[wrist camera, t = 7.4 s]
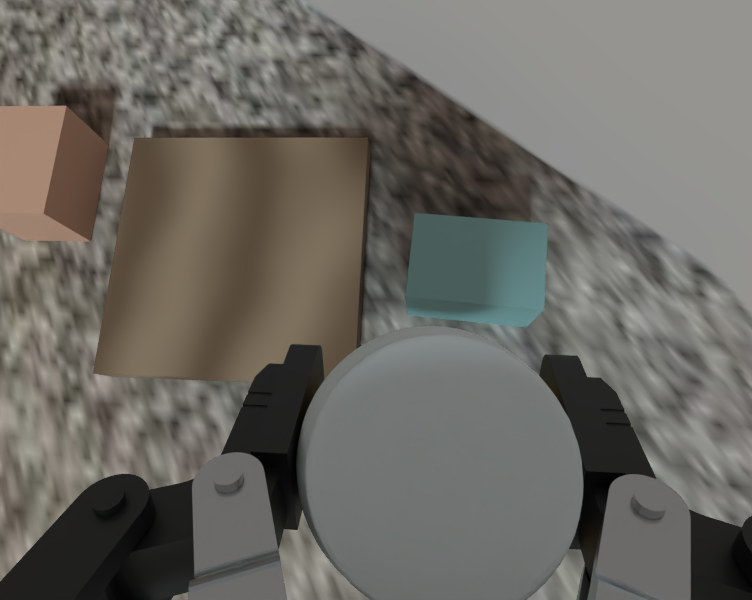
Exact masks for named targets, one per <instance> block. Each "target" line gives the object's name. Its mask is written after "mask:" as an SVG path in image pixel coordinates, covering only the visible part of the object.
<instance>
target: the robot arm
mask: <svg viewBox="0 0 752 600" xmlns="http://www.w3.org/2000/svg"><path fill="white" fill-rule="evenodd" d="M539 376H540V377H541V378H542V380H543V381H544V382H545V383H546V384H547V386H548V387H549V388H550V390H551V391H552V392H553V393H554V395H555V396H556V398H557V399H558V401H559V402H560V404H561V406H562V408H563V409H564V411H565V413H566V414H567V416H568V418H569V419H570V422H571V425H572V428H573V431H574V434H575V437H576V439H577V442H578V446H579V450H580V455H581V460H582V471H583V500H582V507H581V512H580V518H579V522H578V526H577V529H576V533H575V536H574V538H573V540H572V543H571V545H570V547H569V549H580V550H581V551H582V554H583V558H584V562H585V565H584V568H583V571H582V574H581V579H580V584H579V590H578V595H577V600H752V516H751V517H749V518H748V519H747V520H746V521H745V522H744V524H743V526H742V527H739V526H735V525H732V524H729V523H726V522H723V521H719V520H716V519H713V518H710V517H707V516H704V515H701V514H698V513H696V512H694V511H692V510H689V509H688V507H687V505H686V503H685V501H684V500H683V499H682V497H681V496H680V495H679V494H678V493H677V492H676V491H674V490H673V489H672V488H671V487H669V486H668V485H666V484H665V483H663V482H661V481H659V480H657V479H656V477H655V475H654V472H653V470H652V468H651V466H650V464H649V462H648V460H647V457H646V455H645V453H644V451H643V449H642V447H641V445H640V442H639V440H638V438H637V436H636V434H635V432H634V430H633V427H631V423H630V421H629V419H628V417H627V415H626V413H624V408H623V406H622V404H621V402H620V400H619V397H618V395H617V393H616V392H615V391H614V390H613V389H612V388H611V387H610V386H609V385H608V384H606V383H605V382H604V381H603V380H602V379H601V378H591V377H587V376H586V373H585V371H584V368H583V366H582V363H581V361H580V359H579V357H578V356H569V355H545V356H544V357H543V360H542V365H541V370H540V375H539ZM324 380H325V379H324V366H323V353H322V347H321V345H303V344H291V345H290V347H289V349H288V352H287V355H286V357H285V360H284V363H283V364H273V363H269V364H268V365H267V366H266V367H265V368H263V369H262V370H261V371H260V372H259V373H258V374H257V375H256V376H255V378H254V380H253V382H252V384H251V387H250V389H249V391H248V395H247V396H246V398H245V401H244V403H243V408H241V410H240V412H239V415H238V417H237V419H236V421H235V424H234V426H233V428H232V431H231V433H230V435H229V438H228V440H227V442H226V445H225V447H224V449H223V452H222V454H221V455H220V456H218V457H215V458H213V459H212V460H210V461H208V462H207V463H206V464H205V465H203V466H202V467H201V468H200V470H199V471H198V472H197V474H196V476H195V477H194V479H192V480H189V481H187V482H183V483H179V484H175V485H170V486H165V487H161V488H156V489H151V490H149V487H148V485H147V483H146V482H145V481H144V480H143V479H142V478H140V477H138V476H136V475H131V474H119V475H114V476H110V477H107V478H104V479H102V480H100V481H98V482H96V483H94V484H93V485H91V486H90V487H88V488H87V489H86V490H85V491H83V492H82V493H81V494H80V495H79V496H78V498H77V499H76V500H75V501H74V502H73V503H72V504H71V505H70V506H69V507H68V508H67V510H66V511H65V512H64V513H63V514H62V515H61V516H60V517H59V518H58V519H57V520H56V522H55V523H54V524H53V525H52V526H51V527H50V528H49V529H48V530H47V531H46V532H45V534H44V535H43V536H42V537H41V538H40V539H39V540H38V541H37V542H36V543H35V544H34V546H33V547H32V548H31V549H30V550H29V551H28V552H27V553H26V554H25V555H24V556H23V557H22V559H21V560H20V561H19V562H18V563H17V564H16V565H15V566H14V567H13V568H12V569H11V571H10V572H9V573H8V574H7V575H6V576H5V577H4V578H3V579H2V580H1V581H0V600H171V599H172V597H173V596H175V595H178V594H182V593H186V592H188V600H287V596H286V590H285V584H284V579H283V573H282V568H281V562H280V556H279V551H278V549H279V545H280V541H281V538H282V534H283V530H284V529H292V530H298V526H299V521H300V517H301V513H302V505H301V501H300V497H299V491H298V485H297V474H296V459H297V447H298V440H299V436H300V432H301V427H302V424H303V421H304V418H305V415H306V412H307V409H308V407H309V405H310V403H311V401H312V399H313V397H314V395H315V393H316V392H317V390H318V389H319V387H320V385H321V384H322V383H323V381H324Z"/></svg>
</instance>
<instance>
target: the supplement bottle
mask: <svg viewBox="0 0 752 600" xmlns="http://www.w3.org/2000/svg"><path fill="white" fill-rule="evenodd" d="M296 474H297V485H298V491H299V497H300V501H301V505H302V509H303V513H304V515H305V518H306V520H307V523H308V526H309V528H310V530H311V532H312V534H313V536H314V538H315V540H316V542H317V543H318V545H319V547H320V548H321V550H322V551H323V553H324V554H325V555H326V557H327V558H328V559H329V560H330V562H331V563H332V564H333V565H334V567H335V568H336V569H337V570H338V571H339V572H340V573H341V574H342V575H343V576H344V577H345V578H346V579H347V580H348V581H349V582H350V583H351V584H352V585H353V586H354V587H355V588H356V589H358V590H359V591H360V592H361V593H363V594H364V595H365V596H366V597H368V598H369V599H370V600H526V599H527V598H529V597H530V596H531V595H533V594H534V593H535V592H536V591H537V590H538V589H540V588H541V587H542V586H543V585H544V584H545V582H546V581H547V580H548V579H549V578H550V576H551V575H552V574H553V573H554V571H555V570H556V569H557V568H558V566H559V565H560V563H561V562H562V560H563V558H564V556H565V555H566V553H567V551H568V549H569V547H570V545H571V543H572V540H573V538H574V536H575V533H576V529H577V526H578V522H579V518H580V512H581V507H582V500H583V471H582V460H581V455H580V450H579V446H578V442H577V439H576V437H575V434H574V431H573V428H572V425H571V422H570V419H569V418H568V416H567V414H566V413H565V411H564V409H563V408H562V406H561V404H560V402H559V401H558V399H557V398H556V396H555V395H554V393H553V392H552V391H551V390H550V388H549V387H548V386H547V384H546V383H545V382H544V381H543V380H542V378H541V377H540V376H539V375H538V374H537V373H536V372H534V371H533V370H532V369H531V368H530V367H529V366H527V365H526V364H525V363H524V362H523V361H521V360H520V359H519V358H517V357H516V356H515V355H514V354H512V353H511V352H509V351H508V350H507V349H505V348H504V347H502V346H500V345H499V344H497V343H495V342H493V341H491V340H489V339H487V338H485V337H483V336H480V335H477V334H475V333H472V332H468V331H464V330H460V329H456V328H450V327H441V326H420V327H411V328H405V329H400V330H396V331H393V332H390V333H387V334H384V335H381V336H379V337H377V338H375V339H373V340H371V341H369V342H367V343H365V344H364V345H362V346H360V347H359V348H357V349H356V350H354V351H353V352H352V353H350V354H349V355H348V356H346V357H345V358H344V359H343V360H342V361H341V362H340V363H339V364H338V365H337V366H336V367H335V368H334V369H333V370H332V371H331V372H330V373H329V375H328V376H327V377H326V379H325V380H324V381H323V383H322V384H321V385H320V387H319V389H318V390H317V392H316V393H315V395H314V397H313V399H312V401H311V403H310V405H309V407H308V409H307V412H306V415H305V418H304V421H303V424H302V427H301V432H300V436H299V440H298V447H297V459H296Z"/></svg>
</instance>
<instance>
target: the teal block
mask: <svg viewBox="0 0 752 600" xmlns="http://www.w3.org/2000/svg"><path fill="white" fill-rule="evenodd" d="M547 236H548V223H536V222H523V221H511V220H498V219H486V218H473V217H461V216H448V215H436V214H423V213H415V214H414V223H413V232H412V241H411V250H410V259H409V268H408V277H407V286H406V295H405V298H406V307H407V315H411V316H421V317H431V318H441V319H450V320H460V321H470V322H480V323H490V324H500V325H510V326H519V327H527V326H528V325H529V324H530V323H531V322H532V321H533V320H534V319H535V318H536V317H537V316H538V315H539V314H540V313H541V312H542V311H543V310H544V299H545V278H546V257H547Z"/></svg>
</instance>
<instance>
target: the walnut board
mask: <svg viewBox="0 0 752 600" xmlns="http://www.w3.org/2000/svg"><path fill="white" fill-rule="evenodd" d="M369 170H370V146H369V140H368V137H334V138H134V143H133V149H132V155H131V160H130V166H129V172H128V178H127V183H126V189H125V195H124V200H123V206H122V212H121V217H120V223H119V229H118V234H117V240H116V246H115V252H114V257H113V263H112V269H111V274H110V280H109V286H108V291H107V297H106V303H105V308H104V314H103V320H102V325H101V331H100V337H99V343H98V348H97V354H96V360H95V365H94V371H93V373H94V374H100V375H105V376H113V377H137V378H162V379H187V380H211V381H236V382H253V380H254V378H255V376H256V375H257V374H258V373H259V372H260V371H261V370H262V369H263V368H265V367H266V366H267V365H268V364H269V363H273V364H283V363H284V360H285V357H286V355H287V352H288V349H289V347H290V345H291V344H303V345H321V347H322V353H323V366H324V379H326V377H327V376H328V375H329V373H330V372H331V371H332V370H333V369H334V368H335V367H336V366H337V365H338V364H339V363H340V362H341V361H342V360H343V359H344V358H345V357H346V356H348V355H349V354H350V353H352V352H353V351H354V350H356V349H357V348H359V347H360V336H361V318H362V299H363V281H364V262H365V244H366V226H367V207H368V189H369Z"/></svg>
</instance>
